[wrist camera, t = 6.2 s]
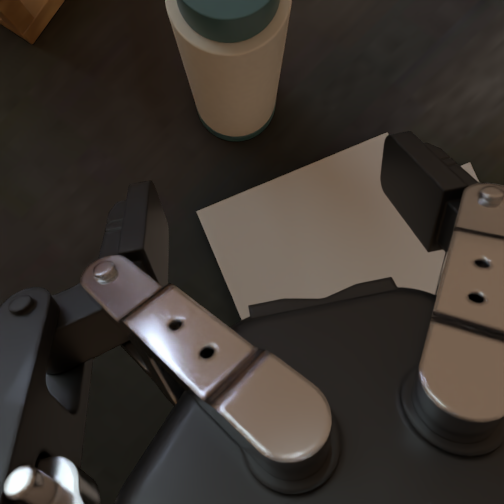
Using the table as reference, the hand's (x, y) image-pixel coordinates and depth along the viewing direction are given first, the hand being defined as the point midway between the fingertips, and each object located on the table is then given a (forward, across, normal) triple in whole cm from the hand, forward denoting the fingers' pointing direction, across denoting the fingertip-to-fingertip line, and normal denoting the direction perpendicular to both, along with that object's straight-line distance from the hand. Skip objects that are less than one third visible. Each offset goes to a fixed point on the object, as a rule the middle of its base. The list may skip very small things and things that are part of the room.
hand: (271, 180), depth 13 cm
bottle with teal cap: (+15, 0, +3) cm, 16 cm away
